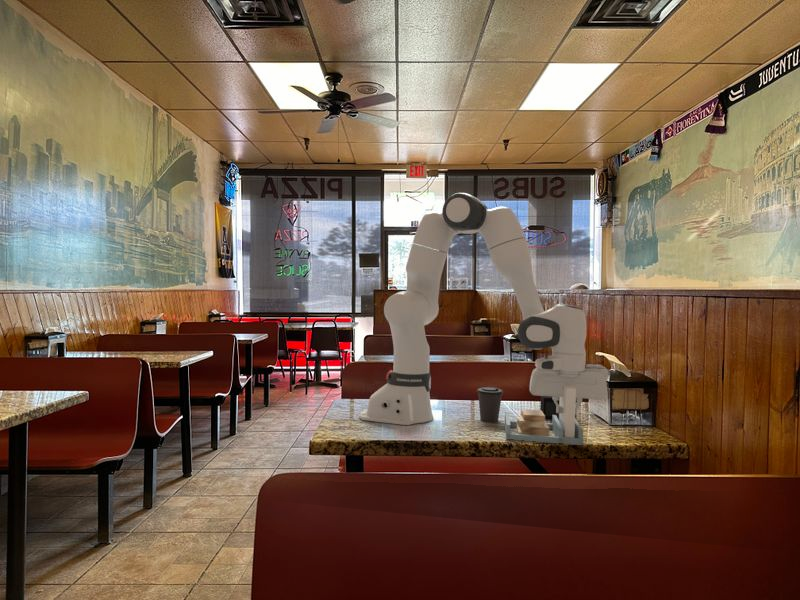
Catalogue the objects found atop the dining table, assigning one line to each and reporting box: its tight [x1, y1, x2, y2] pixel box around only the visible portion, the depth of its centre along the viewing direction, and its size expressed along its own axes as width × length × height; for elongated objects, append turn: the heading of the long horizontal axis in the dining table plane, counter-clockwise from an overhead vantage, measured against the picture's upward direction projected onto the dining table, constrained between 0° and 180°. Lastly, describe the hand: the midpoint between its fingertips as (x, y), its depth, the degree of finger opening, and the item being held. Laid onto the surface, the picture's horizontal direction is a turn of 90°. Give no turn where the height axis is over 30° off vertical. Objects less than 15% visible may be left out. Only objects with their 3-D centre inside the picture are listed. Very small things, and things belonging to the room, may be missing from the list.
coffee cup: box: [476, 386, 504, 423], centre depth 157 cm, size 8×8×10 cm
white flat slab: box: [559, 386, 576, 438], centre depth 140 cm, size 2×12×14 cm, turn 170°
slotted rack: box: [504, 411, 584, 446], centre depth 142 cm, size 20×15×4 cm
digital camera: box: [539, 396, 578, 421], centre depth 161 cm, size 10×5×7 cm, turn 87°
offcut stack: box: [515, 408, 550, 436], centre depth 142 cm, size 8×10×6 cm
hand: (566, 413), depth 140 cm, fingers closed on white flat slab, 2 cm apart
